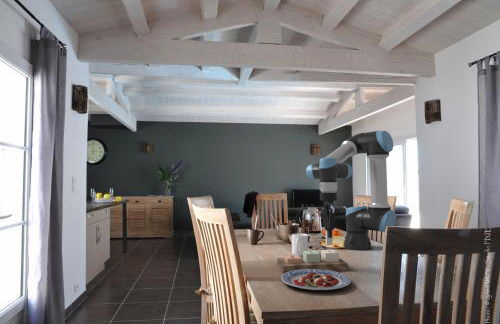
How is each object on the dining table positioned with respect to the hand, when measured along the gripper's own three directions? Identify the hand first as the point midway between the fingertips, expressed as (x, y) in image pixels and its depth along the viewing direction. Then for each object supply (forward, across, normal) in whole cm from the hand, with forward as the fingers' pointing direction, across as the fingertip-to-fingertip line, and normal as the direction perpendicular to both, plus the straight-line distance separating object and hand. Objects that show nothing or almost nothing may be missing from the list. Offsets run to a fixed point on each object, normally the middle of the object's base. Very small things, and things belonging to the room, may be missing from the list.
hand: (329, 244), depth 153 cm
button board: (+10, 0, -8) cm, 13 cm away
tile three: (+9, 0, -17) cm, 19 cm away
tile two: (+8, 0, -8) cm, 11 cm away
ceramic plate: (+11, +22, -13) cm, 27 cm away
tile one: (+8, 0, 0) cm, 8 cm away
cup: (+10, -25, -7) cm, 28 cm away
